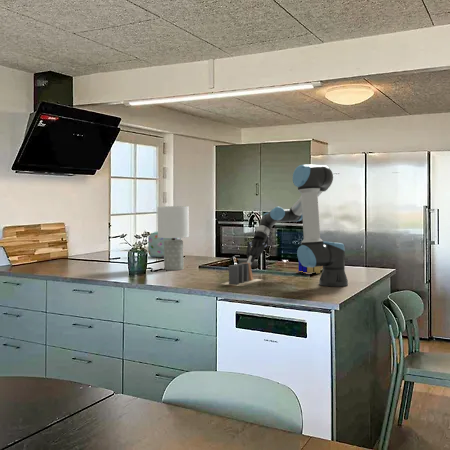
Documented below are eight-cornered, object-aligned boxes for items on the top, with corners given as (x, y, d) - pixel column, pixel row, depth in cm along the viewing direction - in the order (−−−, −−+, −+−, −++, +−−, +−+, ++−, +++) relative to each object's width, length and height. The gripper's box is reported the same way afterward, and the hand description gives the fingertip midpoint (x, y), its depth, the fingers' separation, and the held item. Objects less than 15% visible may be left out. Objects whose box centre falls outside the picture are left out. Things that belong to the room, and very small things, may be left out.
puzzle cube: (298, 272, 331) (298, 256, 331) (311, 271, 335) (311, 255, 335) (306, 274, 322) (306, 258, 321) (320, 273, 326) (320, 257, 325)
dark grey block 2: (240, 280, 297) (240, 262, 296) (248, 281, 294) (248, 263, 293) (239, 281, 295) (238, 263, 294) (246, 281, 292) (246, 263, 292)
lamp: (189, 266, 361) (189, 206, 358) (188, 271, 340) (188, 206, 338) (159, 267, 360) (158, 206, 358) (156, 271, 339) (155, 206, 337)
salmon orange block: (245, 278, 301) (242, 262, 298) (253, 278, 299) (250, 263, 295) (244, 279, 300) (240, 264, 296) (251, 280, 297) (248, 264, 293)
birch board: (263, 280, 300) (263, 279, 300) (241, 287, 279) (241, 286, 278) (242, 278, 307) (242, 277, 307) (219, 285, 286) (219, 283, 286)
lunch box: (183, 256, 420) (183, 230, 419) (178, 258, 410) (178, 231, 409) (152, 256, 428) (152, 229, 427) (147, 257, 418) (146, 230, 417)
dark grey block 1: (230, 283, 287) (230, 265, 287) (238, 284, 285) (238, 265, 284) (229, 283, 286) (228, 265, 285) (237, 284, 283) (236, 266, 282)
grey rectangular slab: (236, 282, 292) (235, 264, 291) (243, 282, 289) (243, 264, 289) (234, 282, 290) (234, 264, 290) (242, 283, 288) (241, 265, 287)
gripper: (273, 239, 311) (260, 271, 297) (254, 238, 318) (240, 269, 304) (269, 230, 306) (255, 262, 293) (249, 230, 313) (235, 261, 300)
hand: (247, 266), depth 299 cm, fingers closed
